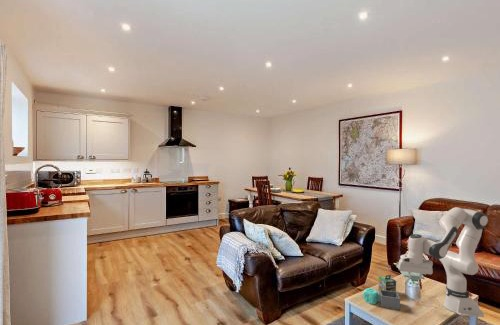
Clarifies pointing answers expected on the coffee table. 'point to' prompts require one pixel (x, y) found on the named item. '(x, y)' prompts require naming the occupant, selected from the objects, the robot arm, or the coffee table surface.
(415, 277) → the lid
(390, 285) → the chalk box
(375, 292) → the decorative dice
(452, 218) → the robot arm
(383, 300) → the tub
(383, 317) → the coffee table surface
